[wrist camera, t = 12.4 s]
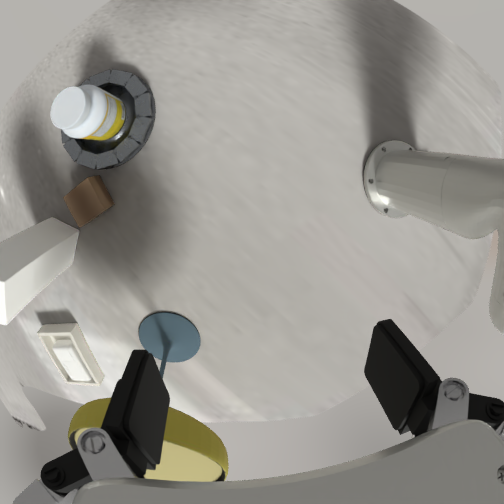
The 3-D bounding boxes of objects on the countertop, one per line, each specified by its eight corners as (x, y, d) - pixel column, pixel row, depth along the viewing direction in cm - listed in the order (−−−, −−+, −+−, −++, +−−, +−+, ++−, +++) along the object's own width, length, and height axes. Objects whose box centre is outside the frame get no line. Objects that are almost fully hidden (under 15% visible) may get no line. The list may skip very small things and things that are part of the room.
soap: (95, 372, 44) (91, 382, 41) (76, 372, 43) (71, 381, 41) (75, 337, 40) (69, 346, 38) (56, 338, 40) (49, 347, 37)
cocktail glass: (122, 279, 38) (48, 399, 15) (233, 306, 42) (250, 448, 19) (119, 361, 44) (82, 471, 20) (210, 382, 47) (212, 500, 24)
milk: (47, 248, 35) (-39, 314, 15) (52, 215, 34) (-46, 268, 13) (74, 263, 37) (-8, 341, 16) (80, 229, 35) (-15, 296, 14)
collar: (151, 60, 28) (148, 56, 26) (161, 156, 33) (157, 156, 31) (64, 91, 27) (58, 88, 25) (72, 179, 32) (65, 181, 30)
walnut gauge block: (99, 175, 33) (87, 177, 29) (115, 204, 35) (104, 209, 31) (76, 193, 33) (63, 197, 30) (91, 221, 35) (79, 228, 31)
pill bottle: (83, 112, 29) (38, 101, 18) (120, 88, 29) (83, 66, 18) (97, 149, 31) (53, 149, 20) (135, 126, 31) (100, 114, 20)
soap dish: (77, 322, 40) (70, 332, 37) (104, 375, 45) (100, 386, 42) (43, 324, 40) (36, 332, 37) (71, 374, 44) (66, 383, 41)
